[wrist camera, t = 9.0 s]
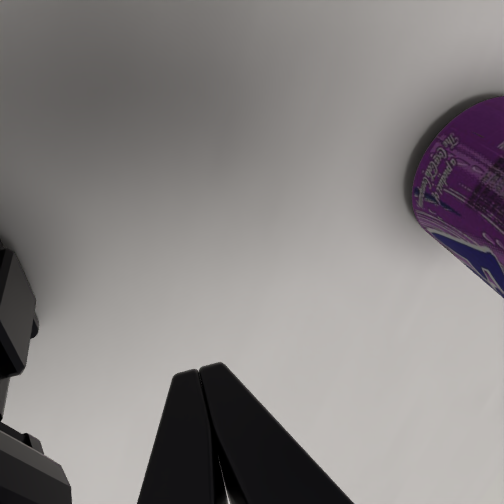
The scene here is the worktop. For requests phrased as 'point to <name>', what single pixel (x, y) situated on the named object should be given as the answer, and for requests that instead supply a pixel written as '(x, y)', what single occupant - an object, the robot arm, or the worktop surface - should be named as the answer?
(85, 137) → the worktop surface
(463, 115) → the beverage can
